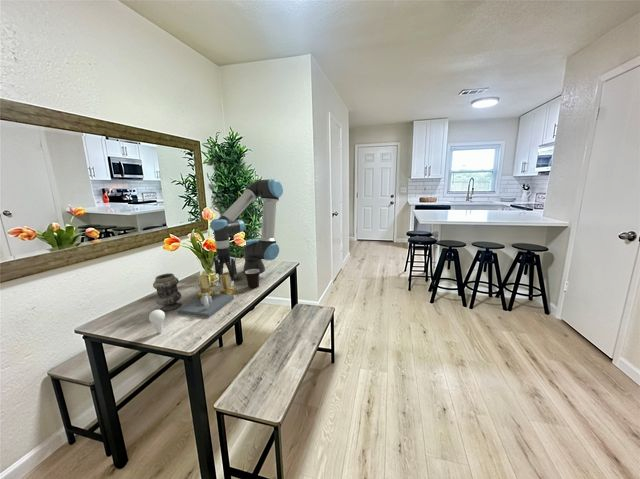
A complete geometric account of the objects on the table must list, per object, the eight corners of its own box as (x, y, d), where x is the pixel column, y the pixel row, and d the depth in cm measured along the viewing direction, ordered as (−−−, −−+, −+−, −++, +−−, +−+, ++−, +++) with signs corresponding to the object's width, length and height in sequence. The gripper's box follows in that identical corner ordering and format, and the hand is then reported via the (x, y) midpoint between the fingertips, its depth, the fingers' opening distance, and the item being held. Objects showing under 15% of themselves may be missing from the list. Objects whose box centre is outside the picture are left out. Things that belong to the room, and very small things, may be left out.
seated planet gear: (205, 292, 159) (202, 272, 156) (218, 293, 156) (215, 273, 153) (193, 299, 150) (190, 278, 147) (207, 300, 148) (204, 279, 145)
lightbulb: (153, 338, 118) (148, 315, 115) (151, 332, 123) (147, 310, 120) (168, 333, 121) (164, 310, 119) (166, 327, 126) (162, 305, 124)
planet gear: (226, 289, 167) (224, 270, 164) (239, 290, 164) (237, 271, 162) (217, 295, 159) (214, 275, 156) (230, 296, 156) (228, 277, 153)
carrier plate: (205, 295, 159) (203, 281, 157) (234, 298, 153) (232, 284, 151) (177, 313, 139) (174, 297, 137) (209, 317, 134) (206, 300, 132)
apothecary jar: (174, 300, 154) (168, 270, 150) (187, 304, 148) (182, 273, 144) (152, 310, 144) (146, 278, 139) (166, 315, 138) (160, 281, 134)
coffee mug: (257, 289, 164) (255, 274, 162) (244, 289, 166) (242, 273, 164) (264, 282, 175) (263, 267, 173) (252, 281, 177) (250, 267, 175)
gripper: (204, 248, 154) (210, 286, 160) (233, 249, 149) (237, 289, 154) (213, 244, 161) (218, 281, 167) (240, 246, 156) (244, 284, 161)
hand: (227, 285), depth 160 cm, fingers open, 5 cm apart
